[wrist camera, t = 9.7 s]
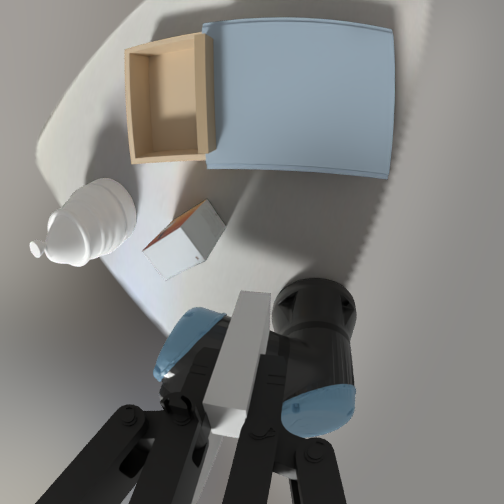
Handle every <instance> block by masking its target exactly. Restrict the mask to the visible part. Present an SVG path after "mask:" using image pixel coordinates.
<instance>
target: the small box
mask: <svg viewBox="0 0 504 504" xmlns="http://www.w3.org/2000/svg"><path fill="white" fill-rule="evenodd" d="M225 228H226V226H225V225H224V223H223V222H222V220H221V219H220V217H219V216H218V214H217V213H216V211H215V210H214V208H213V207H212V205H211V204H210V202H209V201H208V200H207V199H206V200H204V201H203V202H201V203H200V204H198V205H197V206H195V207H194V208H192V209H190V210H189V211H187V212H185V213H184V214H182V215H181V216H179V217H178V218H176V219H174V220H173V221H172V222H171V223H170V224H169V225H168V226H167V227H166V228H165V229H164V230H163V231H162V232H161V233H160V234H159V235H158V236H157V237H156V238H154V239H153V240H152V241H151V242H150V243H149V244H148V246H147V247H146V248H145V249H144V250H143V251H142V252H143V253H144V255H145V256H146V257H147V259H148V260H149V261H150V263H151V264H152V265H153V267H154V268H155V269H156V270H157V272H158V273H159V274H160V275H161V277H162V278H163V279H164V280H165V281H167V280H168V279H170V278H172V277H174V276H175V275H177V274H179V273H181V272H183V271H185V270H187V269H189V268H191V267H193V266H195V265H198V264H200V263H202V262H205V261H206V260H207V258H208V256H209V255H210V253H211V251H212V250H213V248H214V246H215V245H216V243H217V242H218V240H219V238H220V237H221V235H222V233H223V232H224V230H225Z"/></svg>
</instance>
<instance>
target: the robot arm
mask: <svg viewBox="0 0 504 504" xmlns="http://www.w3.org/2000/svg"><path fill="white" fill-rule="evenodd" d="M270 299H271V293H261V292H250V291H241V292H240V294H239V297H238V300H237V303H236V306H235V309H234V312H233V315H232V317H229V316H226V315H227V314H226V313H222V314H221V313H218V312H215V311H212V310H209V309H205V308H202V307H195V308H192V309H190V310H189V311H187V312H186V313H185V314H184V315H183V316H182V318H181V319H180V320H179V321H178V323H177V324H176V326H175V327H174V329H173V330H172V332H171V334H170V335H169V337H168V339H167V340H166V342H165V344H164V346H163V348H162V350H161V352H160V354H159V356H158V359H157V362H156V366H155V368H154V371H153V374H154V377H155V378H156V379H157V380H158V381H160V382H161V381H162V386H161V389H160V392H159V397H160V399H161V401H160V404H161V405H162V407H163V409H164V410H161V411H143V410H142V409H140V408H139V407H138V406H135V405H124V406H121V407H120V408H119V409H118V410H117V411H116V412H115V413H114V414H113V415H112V416H111V417H110V419H109V420H108V421H107V422H106V423H105V424H104V425H103V427H102V428H101V429H100V430H99V431H98V433H97V434H96V435H95V436H94V437H93V438H92V439H91V440H90V442H89V443H88V444H87V445H86V446H85V447H84V448H83V450H82V451H81V452H80V453H79V454H78V455H77V457H76V458H75V459H74V460H73V461H72V462H71V463H70V464H69V466H68V467H67V468H66V469H65V470H64V471H63V472H62V474H61V475H60V476H59V477H58V478H57V479H56V480H55V482H54V483H53V484H52V485H51V486H50V487H49V489H48V490H47V491H46V492H45V493H44V494H43V495H42V496H41V498H40V499H39V500H38V501H37V502H36V503H35V504H121V502H122V501H123V499H124V498H125V497H126V496H127V495H128V493H129V492H130V491H131V490H132V488H133V487H134V486H135V484H136V483H137V484H136V487H135V489H134V492H133V494H132V497H131V500H130V502H129V504H197V502H198V500H199V497H200V495H201V493H202V490H203V488H204V485H205V483H206V481H207V478H208V476H209V473H210V471H211V468H212V466H213V463H214V461H215V458H216V456H217V453H218V451H219V448H220V445H221V443H222V440H223V438H224V436H229V437H235V438H239V440H238V443H237V448H236V451H235V456H234V459H233V464H232V468H231V471H230V475H229V479H228V483H227V487H226V491H225V495H224V498H223V502H222V504H267V499H268V494H269V488H270V483H271V477H272V472H275V473H278V474H280V475H282V476H285V477H287V478H289V483H290V490H291V497H292V504H346V499H345V495H344V490H343V486H342V482H341V478H340V473H339V470H338V465H337V461H336V457H335V453H334V449H333V447H332V445H331V444H330V443H329V442H328V441H326V440H325V439H322V438H309V439H305V437H314V436H319V435H323V434H327V433H329V432H332V431H335V430H337V429H339V428H340V427H342V426H343V425H344V424H346V423H347V422H348V421H349V420H350V419H351V417H352V416H353V413H354V409H355V394H356V389H355V386H354V375H353V365H352V355H351V347H350V339H351V336H352V333H353V330H354V326H355V323H356V308H355V302H354V300H353V297H352V295H351V294H350V293H349V291H348V290H347V289H346V288H344V287H343V286H342V285H340V284H338V283H336V282H334V281H331V280H327V279H320V278H312V279H305V280H301V281H297V282H295V283H293V284H291V285H289V286H287V287H286V288H285V289H283V290H282V291H281V292H280V294H279V295H278V296H277V298H276V300H275V302H274V305H273V311H272V324H273V327H274V331H275V332H272V331H269V328H270Z"/></svg>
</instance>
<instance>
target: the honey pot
mask: <svg viewBox="0 0 504 504" xmlns="http://www.w3.org/2000/svg"><path fill="white" fill-rule="evenodd" d="M136 219H137V214H136V209H135V205H134V202H133V200H132V198H131V196H130V194H129V193H128V191H127V190H126V189H125V188H124V187H123V186H122V185H121V184H120V183H118V182H116V181H115V180H113V179H109V178H99V179H97V180H95V181H93V182H91V183H89V184H87V185H85V186H83V187H81V188H79V189H77V190H76V191H75V192H74V193H73V194H72V195H71V196H70V198H69V200H68V201H67V202H66V203H65V204H64V205H63V206H62V208H61V209H58V210H55V211H54V212H53V213H52V214H51V215H50V217H49V221H48V234H47V238H46V241H45V243H44V242H43V241H41V240H34V241H32V242H30V250H31V252H32V254H33V255H34V256H35V257H37V258H39V257H40V256H41V255H42V254H43V252H44V250H45V253H46V256H47V257H48V258H49V259H50V260H51V261H53V262H56V263H62V264H64V263H68V264H70V265H72V266H78V267H79V266H83V265H85V264H86V263H87V262H88V261H89V259H94V258H97V257H99V256H102V255H106V254H110V253H112V252H113V251H114V250H115V249H117V248H118V247H119V246H120V245H121V244H122V243H123V242H125V241H126V240H127V239H128V238H129V237H130V236H131V235H132V233H133V232H134V230H135V226H136Z"/></svg>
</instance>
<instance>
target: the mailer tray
mask: <svg viewBox="0 0 504 504" xmlns="http://www.w3.org/2000/svg"><path fill="white" fill-rule="evenodd" d="M197 34H202V32H198V33H192V34H186V35H181V36H176V37H171V38H166V39H162V40H158V41H153V42H149V43H146V44H142V45H138V46H135V47H131V48H128V49H125V96H126V113H127V127H128V138H129V148H130V157H131V164H142V163H156V162H173V161H199V160H206V154H198V142H197V122H196V98H195V54H194V35H197Z"/></svg>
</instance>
